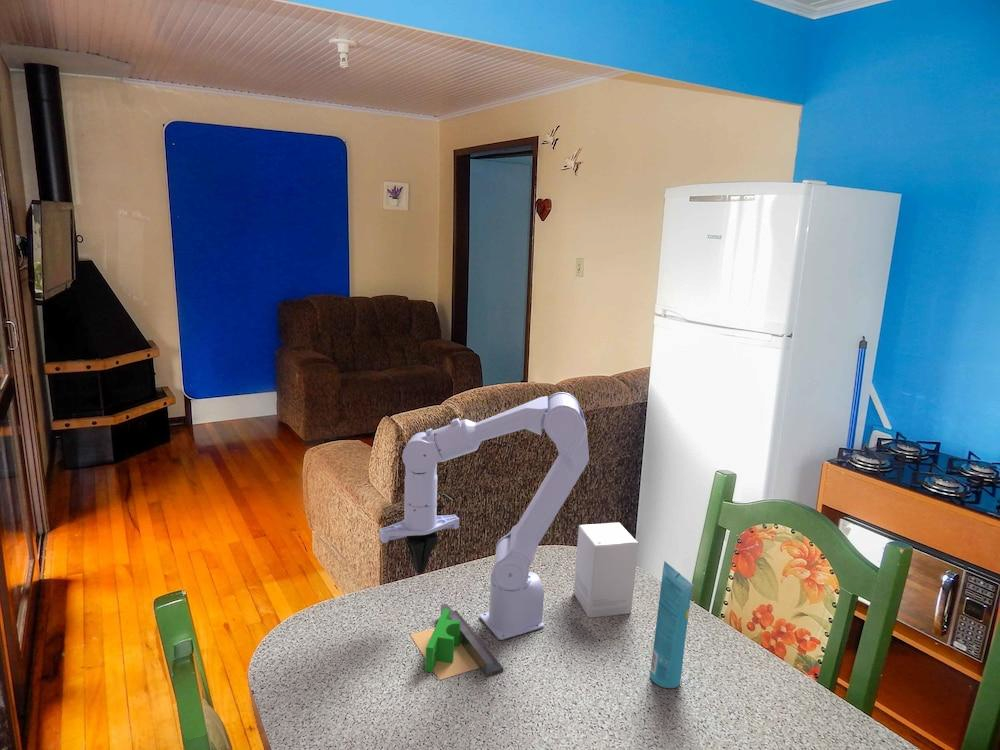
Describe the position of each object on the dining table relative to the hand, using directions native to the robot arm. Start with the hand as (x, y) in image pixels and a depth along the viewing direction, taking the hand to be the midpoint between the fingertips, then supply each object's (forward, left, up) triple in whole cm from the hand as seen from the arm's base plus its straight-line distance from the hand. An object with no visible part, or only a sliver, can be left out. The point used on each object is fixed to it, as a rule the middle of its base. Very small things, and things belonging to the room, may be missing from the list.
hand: (419, 570), depth 117 cm
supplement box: (-34, +11, -10) cm, 37 cm away
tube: (-30, +33, -10) cm, 46 cm away
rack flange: (-2, +11, -9) cm, 15 cm away
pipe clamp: (0, +12, -10) cm, 15 cm away
